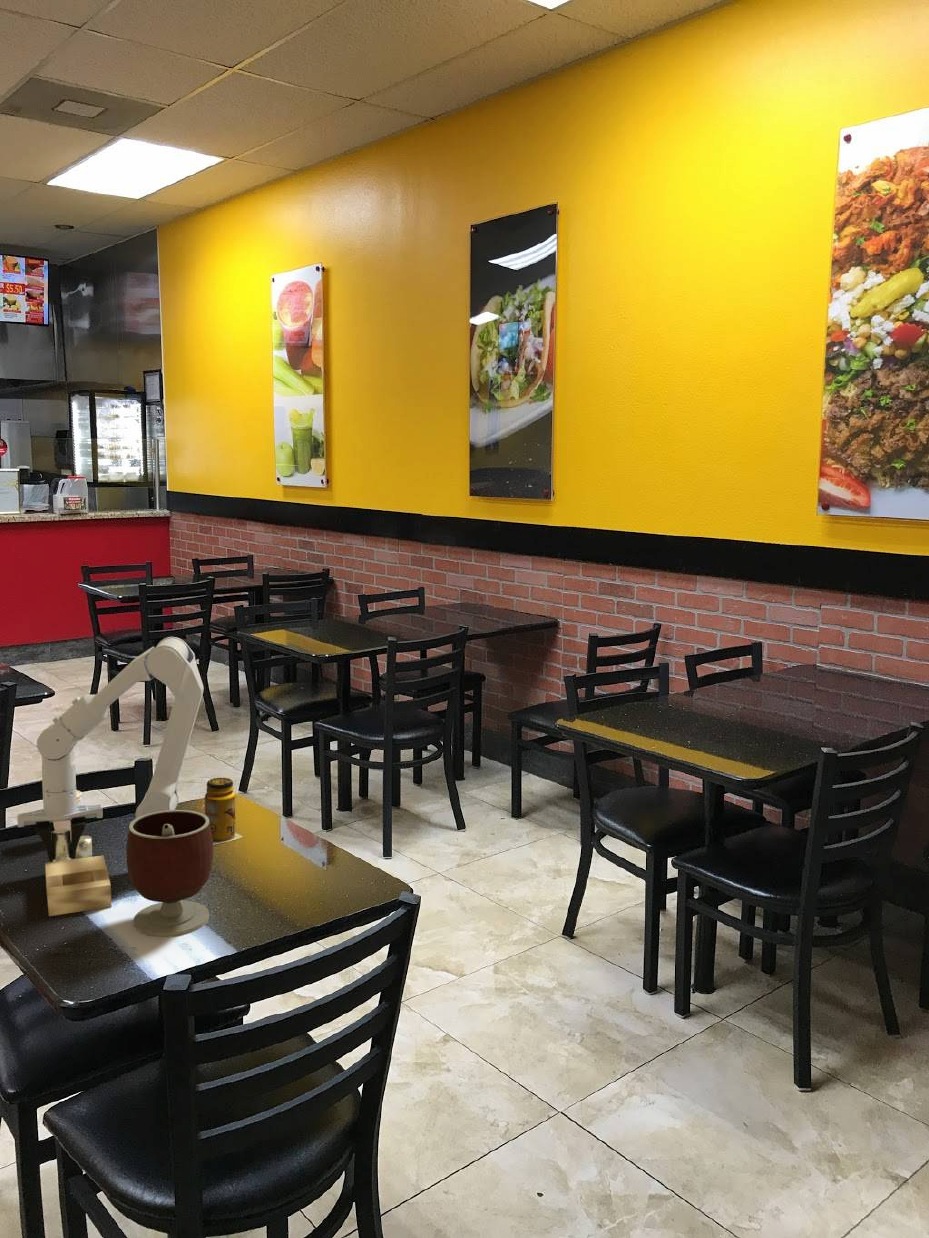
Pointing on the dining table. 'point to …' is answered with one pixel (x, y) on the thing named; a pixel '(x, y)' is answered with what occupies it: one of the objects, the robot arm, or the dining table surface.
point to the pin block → (77, 885)
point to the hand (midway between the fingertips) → (62, 858)
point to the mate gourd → (170, 869)
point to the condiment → (221, 810)
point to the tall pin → (61, 845)
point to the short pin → (84, 847)
